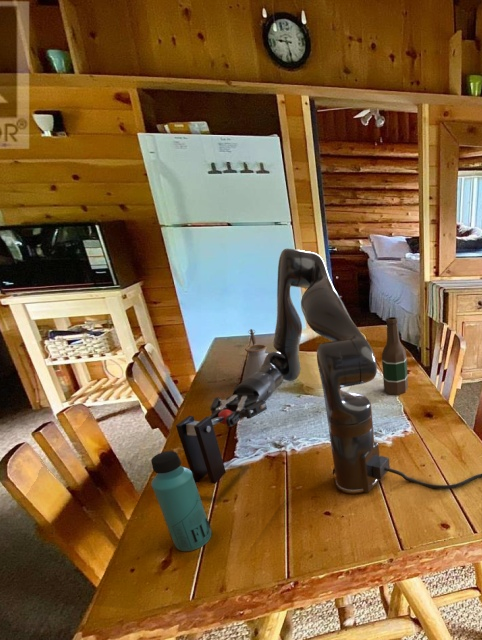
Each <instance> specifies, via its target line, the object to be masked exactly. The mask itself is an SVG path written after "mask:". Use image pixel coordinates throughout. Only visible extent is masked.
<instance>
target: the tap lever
mask: <svg viewBox="0 0 482 640" xmlns="http://www.w3.org/2000/svg"><path fill="white" fill-rule="evenodd" d="M232 413H233V412H232V411H230V410H222V411H220V412H219V414H218V417H217V418H214V419H211V421H212V424H213V425H214V424H216V425H218V424H221V425H226V426H227V423H226V418H227V417H228V416H229V415H231V414H232ZM200 421H201V420H200ZM200 421H199V420H198V421H197V420H195V421H194V422H191V423H188V424H186V430H187V435H193V436H197V435H196V432H195V429H194V426H195V425H196V424H198V423H199V422H200Z"/></svg>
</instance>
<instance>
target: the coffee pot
mask: <svg viewBox="0 0 482 640" xmlns="http://www.w3.org/2000/svg"><path fill="white" fill-rule="evenodd" d="M247 333H248V334H250V340H251V342H252V345H250V346H246V347H245V349H244V350H245V352H247V355H248V356H247V361H246V364H245V369H244V373H243V377H242V379H243V381H244V380H245V379H247V378H248V377H249V376H251V375H252V374H254V373H256V372H257V371H258V370H259V369H260V368H261V367H262V365H263V363H264V360H265V358H266V356H267V355H268V354H267V353H266V351H267V348H268V345H265V344H257V342H256V336H255V333H256V330H255V329H252V328H250V329H249V330H248V331H247Z"/></svg>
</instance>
